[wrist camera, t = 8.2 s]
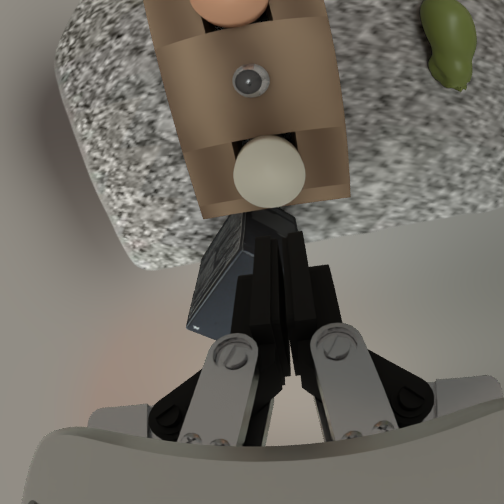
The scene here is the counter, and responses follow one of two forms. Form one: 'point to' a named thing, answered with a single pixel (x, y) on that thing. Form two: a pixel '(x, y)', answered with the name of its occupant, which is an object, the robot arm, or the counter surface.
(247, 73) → the pot stem
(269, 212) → the small box
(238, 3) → the knob terracotta
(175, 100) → the wooden condiment caddy
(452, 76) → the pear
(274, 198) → the knob cream
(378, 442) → the robot arm
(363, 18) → the counter surface
